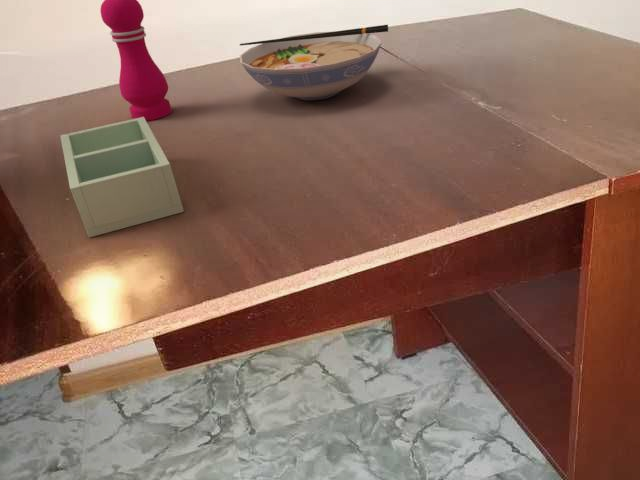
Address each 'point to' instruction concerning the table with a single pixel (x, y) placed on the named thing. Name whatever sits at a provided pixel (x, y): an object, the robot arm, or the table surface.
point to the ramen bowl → (313, 61)
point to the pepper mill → (136, 61)
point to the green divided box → (119, 176)
